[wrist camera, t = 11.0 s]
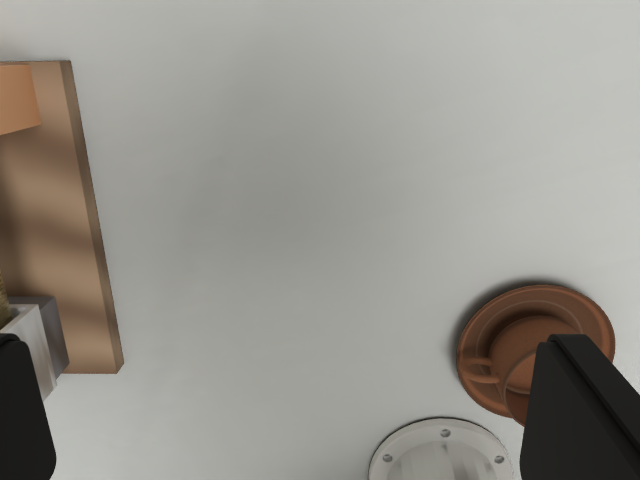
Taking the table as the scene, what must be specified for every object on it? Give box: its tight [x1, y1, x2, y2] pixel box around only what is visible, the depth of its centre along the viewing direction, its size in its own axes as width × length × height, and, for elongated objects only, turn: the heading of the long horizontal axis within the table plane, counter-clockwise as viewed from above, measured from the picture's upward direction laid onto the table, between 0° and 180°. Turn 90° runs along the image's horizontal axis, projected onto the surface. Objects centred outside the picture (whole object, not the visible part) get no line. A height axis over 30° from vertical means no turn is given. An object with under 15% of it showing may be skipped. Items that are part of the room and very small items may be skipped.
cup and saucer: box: [457, 285, 615, 427], centre depth 38 cm, size 12×12×6 cm
